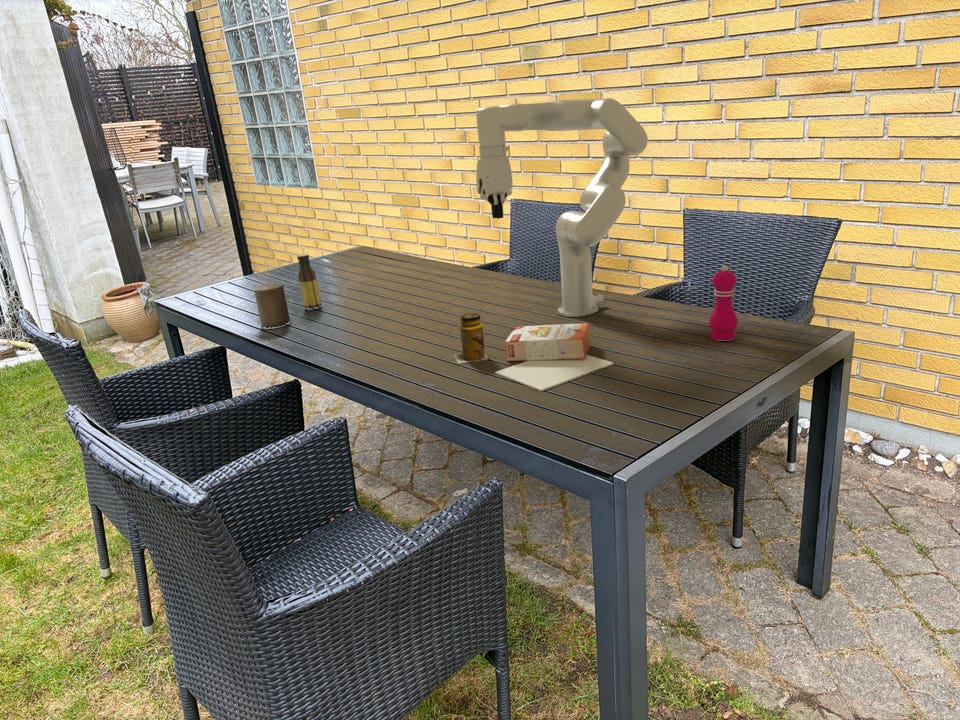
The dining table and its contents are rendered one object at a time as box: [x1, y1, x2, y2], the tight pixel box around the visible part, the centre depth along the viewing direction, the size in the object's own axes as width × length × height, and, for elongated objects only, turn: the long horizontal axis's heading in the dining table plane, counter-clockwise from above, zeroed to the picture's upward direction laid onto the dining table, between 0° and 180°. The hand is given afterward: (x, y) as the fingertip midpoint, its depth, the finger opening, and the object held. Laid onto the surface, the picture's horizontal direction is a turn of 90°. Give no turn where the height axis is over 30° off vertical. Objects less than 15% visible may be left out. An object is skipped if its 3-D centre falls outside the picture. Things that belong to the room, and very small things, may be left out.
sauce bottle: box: [296, 253, 322, 309], centre depth 263 cm, size 6×6×20 cm
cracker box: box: [504, 322, 592, 362], centre depth 196 cm, size 14×6×21 cm
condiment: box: [452, 312, 490, 365], centre depth 198 cm, size 7×8×12 cm
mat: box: [494, 354, 615, 392], centre depth 185 cm, size 24×18×1 cm
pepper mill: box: [708, 264, 739, 340], centre depth 193 cm, size 7×7×20 cm
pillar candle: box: [253, 282, 291, 328], centre depth 246 cm, size 10×10×15 cm
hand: (498, 217), depth 213 cm, fingers closed
